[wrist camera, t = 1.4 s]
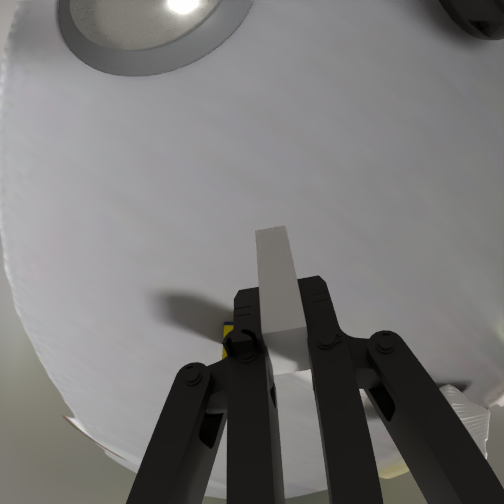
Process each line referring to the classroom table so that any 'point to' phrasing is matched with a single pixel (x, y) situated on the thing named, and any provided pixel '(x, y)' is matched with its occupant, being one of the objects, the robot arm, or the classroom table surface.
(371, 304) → the classroom table surface
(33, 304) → the classroom table surface
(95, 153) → the classroom table surface
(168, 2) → the dial
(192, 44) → the base plate
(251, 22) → the classroom table surface
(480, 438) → the white faceted lump
